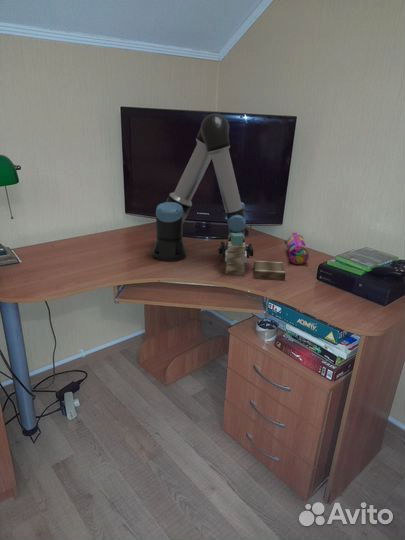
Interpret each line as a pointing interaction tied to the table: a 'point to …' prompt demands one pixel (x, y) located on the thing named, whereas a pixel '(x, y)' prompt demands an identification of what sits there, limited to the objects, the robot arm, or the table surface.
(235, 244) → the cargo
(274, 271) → the dock
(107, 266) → the table surface
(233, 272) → the wooden block tower
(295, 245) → the pencil case
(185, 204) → the robot arm
